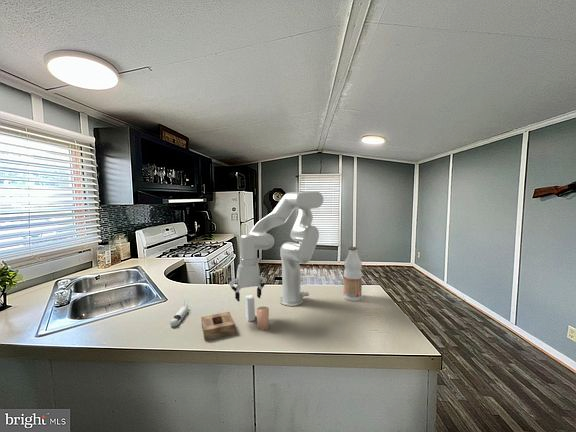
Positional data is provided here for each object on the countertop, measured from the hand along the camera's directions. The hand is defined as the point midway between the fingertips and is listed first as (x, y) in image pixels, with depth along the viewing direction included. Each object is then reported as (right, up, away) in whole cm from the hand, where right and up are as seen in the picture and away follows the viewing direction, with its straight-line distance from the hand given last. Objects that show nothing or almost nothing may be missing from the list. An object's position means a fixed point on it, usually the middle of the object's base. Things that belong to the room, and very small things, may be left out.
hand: (248, 298), depth 116 cm
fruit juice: (+53, -7, +23) cm, 58 cm away
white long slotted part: (-32, -10, +2) cm, 33 cm away
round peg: (+7, -10, -7) cm, 14 cm away
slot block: (-12, -10, -8) cm, 18 cm away
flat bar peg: (+1, -9, +1) cm, 9 cm away
